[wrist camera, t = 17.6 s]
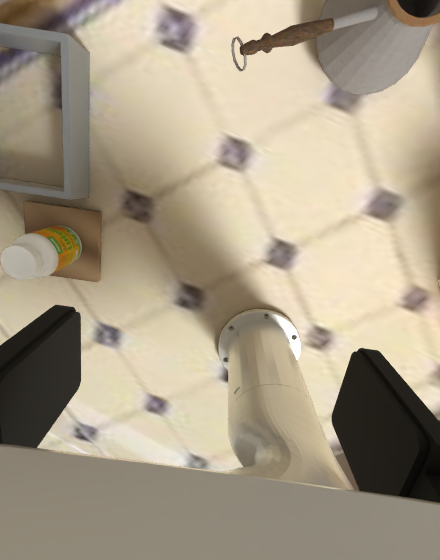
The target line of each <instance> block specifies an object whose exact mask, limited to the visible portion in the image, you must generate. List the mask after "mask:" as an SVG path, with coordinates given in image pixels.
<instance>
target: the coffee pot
mask: <svg viewBox="0 0 440 560" xmlns="http://www.w3.org/2000/svg"><path fill="white" fill-rule="evenodd" d="M439 21H440V0H327V1H326V3H325V5H324V7H323V10H322V13H321V16H320V19H319V20H318V21H313V22H308V23H303V24H298V25H293V26H290V27H288V28H286V29H284V30H282V31H280V32H278V33H276V34H274V35H272V36H271V35H270V34H269V33H265V34H264V35H263V36H262V38H261V39H260V40H257V41H256V40H251V41H249V42H247V43H245V44H244V45H243V43H242V41H241V39H240V38H239V37H235V38H233V40H232V55H233V61H234V63H235V65H236V67H237V68H238V70H239V71H243V70H245V68H246V65H247V62H246V55H252V54H255V53H257V52H258V51H261V50H263V51H264V52H265V53H269V52H270V51H271V50H272V48H274V47H284V46H293V45H296V44H299V43H301V42H304V41H307V40H309V39H312V38H315V37H317V38H316V43H317V52H318V58H319V61H320V63H321V66H322V69H323V71H324V72H325V74H326V75H327V77H328V78H329V79H330V81H331V82H332V83H334V84H335V85H336V86H337V87H339V88H340V89H341V90H344V91H347V92H349V93H352V94H366V95H368V94H372V93H376V92H380V91H383V90H385V89H387V88H388V87H390V86H392V85H394V84H395V83H397V82H398V81H399V80H400V79H401V78H402V77H403V76H404V75H405V74H406V73H408V71H409V70H410V69H411V67H412V66H413V64H414V63H415V62H416V60H417V59H418V57H419V55H420V53H421V50H422V48H423V46H424V44H425V41H426V39H427V37H428V34H429V32H430V29H431V27H432V25H433V24H436V23H437V22H439ZM235 39H237V40H238V41H239V43H240V45H241V46H240V53H241V55H243V56H244V67H243V69H241V68H240V67H239V66H238V63H237V61H236V58H235V53H234V42H235Z"/></svg>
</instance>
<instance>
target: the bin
mask: <svg viewBox="0 0 440 560" xmlns="http://www.w3.org/2000/svg"><path fill="white" fill-rule="evenodd" d="M0 46H1V47H7V48H13V49H20V50H26V51H32V52H39V53H45V54H51V55H58V56H61V81H62V126H63V170H64V187H59V186H52V185H46V184H39V183H32V182H25V181H19V180H12V179H5V178H0V189H1V190H8V191H14V192H21V193H28V194H35V195H41V196H48V197H55V198H61V199H68V200H73V199H80V198H86V197H89V52H88V51H87V50H86V49H85V48H84V47H83V46H81V45H80V44H79V43H78V42H77V41H76V40H75V39H73V38H72V37H71V36H70V35H69V34H65V33H59V32H53V31H46V30H40V29H34V28H28V27H21V26H15V25H9V24H2V23H0Z"/></svg>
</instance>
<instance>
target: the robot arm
mask: <svg viewBox="0 0 440 560" xmlns="http://www.w3.org/2000/svg"><path fill="white" fill-rule="evenodd" d="M264 314H267V315H264ZM230 326H233V327H230ZM292 335H294V336H292ZM218 350H219V356H220V359H221V361H222V363H223V365H224V367H225V368H226V369H227V370H228V434H229V439H230V443H231V446H232V449H233V451H234V453H235V455H236V457H237V458H238V460H239V461H240V463H241V464H242V465H243V467H242V468H236V469H235V470H230V471H225V472H219V471H211V470H204V469H196V468H188V467H181V466H173V465H166V464H158V463H150V462H143V461H135V460H127V459H119V458H111V457H103V456H95V455H87V454H80V453H72V452H64V451H56V450H48V449H40V448H37V447H38V445H39V444H40V442H41V441H42V440H43V438H44V437H45V435H46V434H47V433H48V431H49V430H50V428H51V427H52V425H53V424H54V423H55V421H56V420H57V418H58V417H59V416H60V414H61V413H62V411H63V410H64V408H65V407H66V406H67V404H68V403H69V401H70V400H71V399H72V397H73V396H74V394H75V393H76V392H77V390H78V388H79V386H80V382H81V316H80V313H79V312H76V310H75V308H74V307H68V306H61V305H54V306H53V307H52V308H50V309H49V310H47V311H46V312H45V313H43V314H42V315H41V316H39V317H38V318H37V319H35V320H34V321H33V322H31V323H30V324H29V325H27V326H26V327H25V328H23V329H22V330H21V331H19V332H18V333H17V334H15V335H14V336H12V337H11V338H10V339H8V340H7V341H6V342H4V343H3V344H2V345H0V560H440V422H439V421H438V420H437V418H436V417H435V416H434V415H433V414H432V412H431V411H430V410H429V409H428V408H427V407H426V405H425V404H424V403H423V402H422V401H421V400H420V398H419V397H418V396H417V395H416V394H415V393H414V391H413V390H412V389H411V388H410V387H409V386H408V384H407V383H406V382H405V381H404V380H403V378H402V377H401V376H400V375H399V374H398V373H397V371H396V370H395V369H394V368H393V367H392V366H391V364H390V363H389V362H388V361H387V360H386V359H385V357H384V356H383V355H382V354H381V353H380V352H379V351H377V350H371V349H364V348H360V349H359V350H358V351H357V352H353V353H352V355H351V358H350V361H349V364H348V367H347V370H346V373H345V376H344V379H343V382H342V385H341V388H340V392H339V395H338V398H337V401H336V404H335V407H334V410H333V413H332V424H333V427H334V430H335V432H336V434H337V437H338V439H339V442H340V444H341V446H342V449H343V451H344V454H345V456H346V458H347V461H348V463H349V466H350V468H351V471H352V473H353V475H354V478H355V480H356V483H357V485H358V487H359V490H360V491H357V490H354V489H353V488H352V486H351V484H350V483H349V481H348V479H347V478H346V476H345V474H344V472H343V471H342V469H341V467H340V465H339V463H338V462H337V460H336V458H335V456H334V454H333V452H332V450H331V448H330V446H329V443H328V441H327V439H326V437H325V434H324V432H323V429H322V427H321V424H320V421H319V419H318V416H317V413H316V411H315V408H314V405H313V402H312V400H311V397H310V394H309V391H308V389H307V386H306V383H305V381H304V378H303V375H302V372H301V370H300V367H299V364H298V362H297V360H298V358H299V355H300V350H301V341H300V337H299V334H298V332H297V330H296V328H295V326H294V325H293V323H292V322H291V321H290V320H289V319H288V318H287V317H285V316H284V315H282V314H280V313H278V312H275V311H273V310H268V309H252V310H247V311H245V312H242V313H240V314H238V315H236V316H234V317H233V318H232V319H231V320H230V321H228V323H227V324H226V325H225V326H224V328H223V330H222V332H221V334H220V338H219V344H218ZM225 357H227V358H225Z"/></svg>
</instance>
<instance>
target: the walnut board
mask: <svg viewBox="0 0 440 560" xmlns="http://www.w3.org/2000/svg"><path fill="white" fill-rule="evenodd" d="M24 217H25V232H26V234H28V233H31V232H35V231H39V230H42V229H46V228H49V227H52V226H59V225H60V226H66V227H68V228H70V229H72V230H73V231H74V232H75V233H76V234H77V235H78V236H79V238H80V240H81V244H82V251H81V254H80V256H79V258H78V259H77V260H75V261H74V262H72V263H71V264H69V265H67V266H65V267H63V268H61V269H60V270H58V271H56V272H54V273H52V274H51V276H58V277H65V278H72V279H79V280H86V281H93V282H98V281H99V280H100V259H101V212H100V211H94V210H87V209H80V208H73V207H67V206H60V205H53V204H46V203H40V202H33V201H24Z"/></svg>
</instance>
